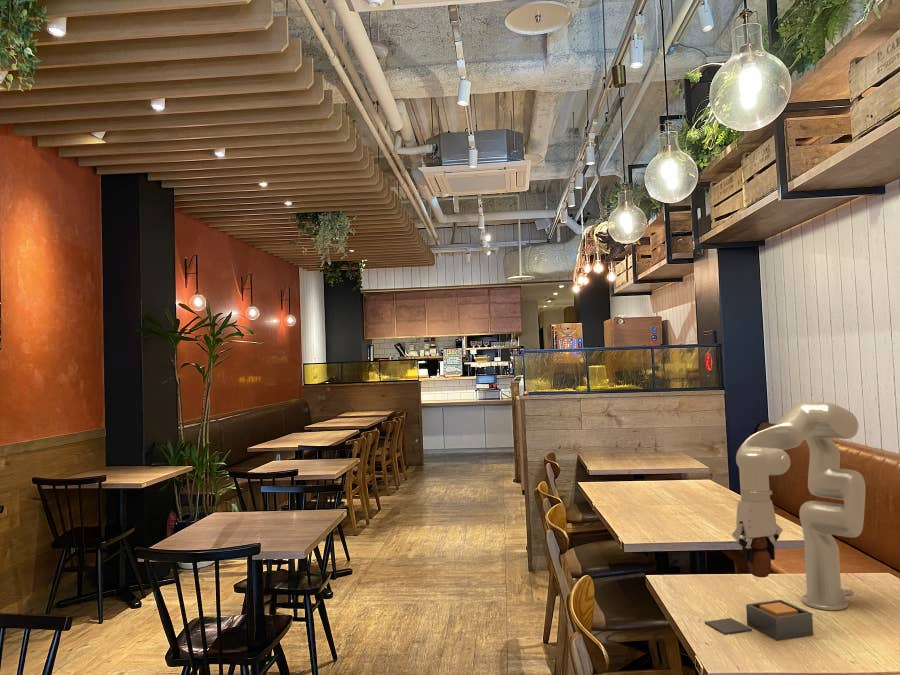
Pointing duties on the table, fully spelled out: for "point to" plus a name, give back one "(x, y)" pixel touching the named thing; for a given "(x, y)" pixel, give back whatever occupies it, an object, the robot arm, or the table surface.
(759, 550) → the wooden figurine
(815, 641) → the table surface
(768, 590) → the table surface
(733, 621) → the mat
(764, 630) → the box
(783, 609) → the button
